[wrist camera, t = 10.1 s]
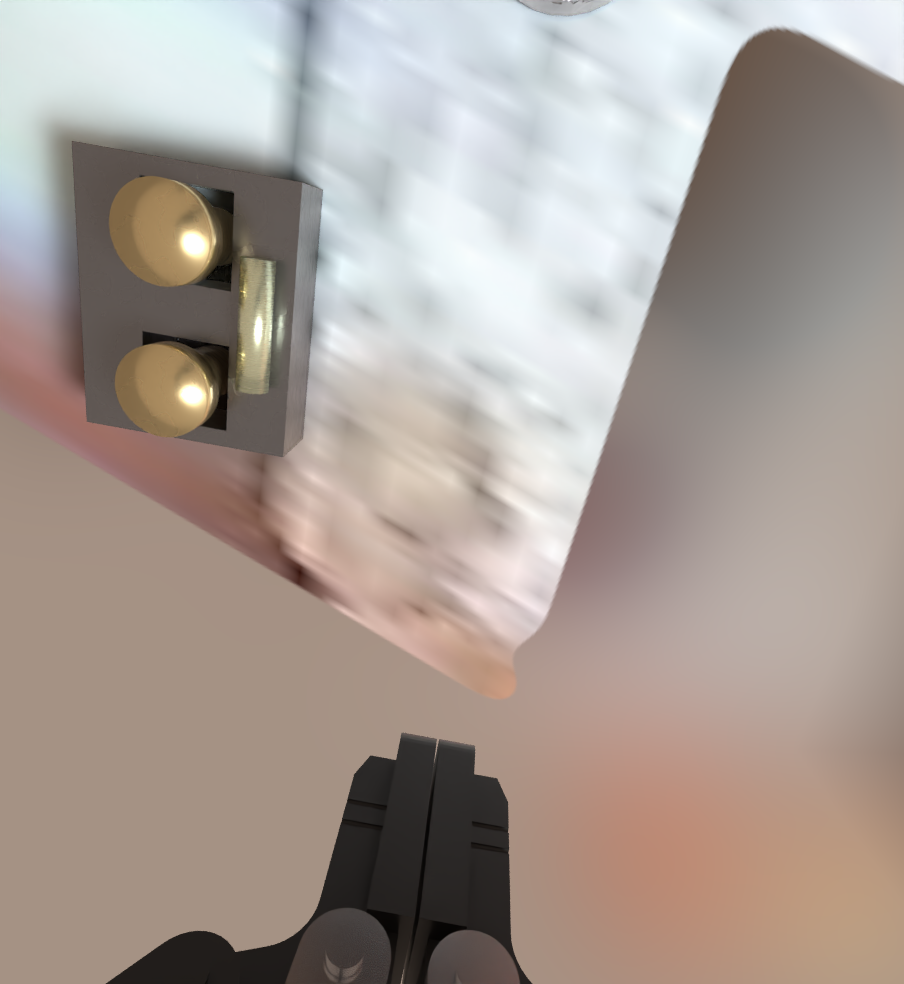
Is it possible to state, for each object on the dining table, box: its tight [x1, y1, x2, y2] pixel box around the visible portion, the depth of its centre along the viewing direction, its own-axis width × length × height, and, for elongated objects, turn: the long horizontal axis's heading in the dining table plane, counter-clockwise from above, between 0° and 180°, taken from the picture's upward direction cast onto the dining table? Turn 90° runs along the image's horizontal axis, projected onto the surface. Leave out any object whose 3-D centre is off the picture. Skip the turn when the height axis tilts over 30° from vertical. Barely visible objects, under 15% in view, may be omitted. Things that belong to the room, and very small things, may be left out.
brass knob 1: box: [109, 176, 234, 287], centre depth 33 cm, size 5×5×7 cm
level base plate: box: [72, 141, 323, 457], centre depth 35 cm, size 15×12×6 cm
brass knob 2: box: [115, 341, 229, 437], centre depth 36 cm, size 5×5×7 cm
